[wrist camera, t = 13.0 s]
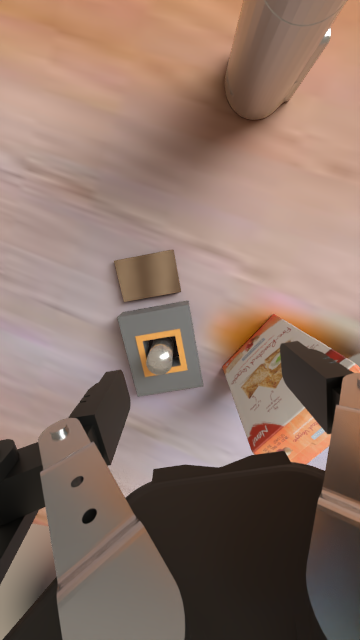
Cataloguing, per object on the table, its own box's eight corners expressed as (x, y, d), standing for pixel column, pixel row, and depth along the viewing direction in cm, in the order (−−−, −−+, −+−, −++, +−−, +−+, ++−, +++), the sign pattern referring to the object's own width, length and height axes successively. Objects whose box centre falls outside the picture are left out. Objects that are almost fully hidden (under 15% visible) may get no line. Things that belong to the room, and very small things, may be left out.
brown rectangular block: (173, 249, 39) (173, 249, 37) (180, 290, 41) (180, 291, 39) (116, 260, 39) (113, 260, 38) (125, 300, 41) (123, 301, 40)
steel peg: (171, 333, 43) (169, 349, 35) (175, 352, 44) (174, 372, 36) (150, 336, 43) (143, 353, 35) (154, 356, 44) (149, 376, 36)
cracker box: (271, 311, 42) (357, 360, 21) (294, 332, 42) (397, 397, 22) (219, 365, 44) (251, 455, 24) (241, 384, 45) (290, 484, 25)
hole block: (188, 300, 41) (189, 304, 37) (201, 375, 45) (203, 386, 41) (123, 312, 42) (117, 317, 38) (141, 385, 45) (137, 397, 41)
